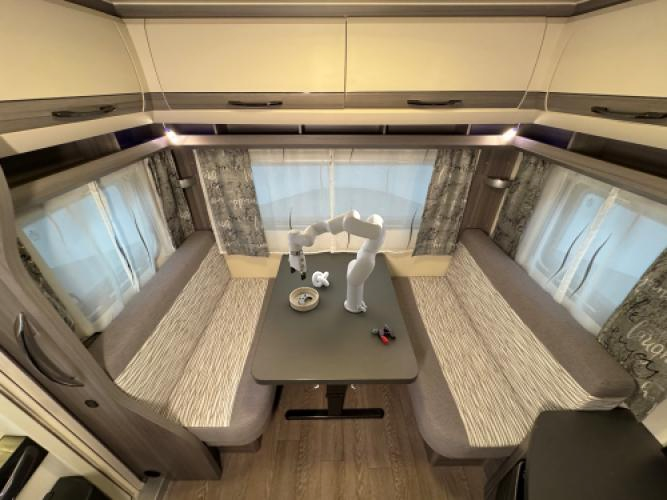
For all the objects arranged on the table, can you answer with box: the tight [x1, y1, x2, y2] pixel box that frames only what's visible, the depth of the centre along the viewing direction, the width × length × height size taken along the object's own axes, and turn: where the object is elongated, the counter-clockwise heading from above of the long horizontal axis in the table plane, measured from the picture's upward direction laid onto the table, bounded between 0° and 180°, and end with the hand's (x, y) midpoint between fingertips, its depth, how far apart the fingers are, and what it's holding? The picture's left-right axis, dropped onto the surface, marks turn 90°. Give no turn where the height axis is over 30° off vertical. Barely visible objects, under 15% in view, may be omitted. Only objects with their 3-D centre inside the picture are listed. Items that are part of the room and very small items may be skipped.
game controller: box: [297, 294, 313, 306], centre depth 161 cm, size 10×5×6 cm
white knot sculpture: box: [311, 271, 330, 288], centre depth 175 cm, size 11×12×9 cm
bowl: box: [289, 286, 320, 312], centre depth 161 cm, size 18×18×4 cm
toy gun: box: [371, 323, 396, 345], centre depth 135 cm, size 10×12×5 cm
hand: (298, 275), depth 152 cm, fingers open, 9 cm apart
